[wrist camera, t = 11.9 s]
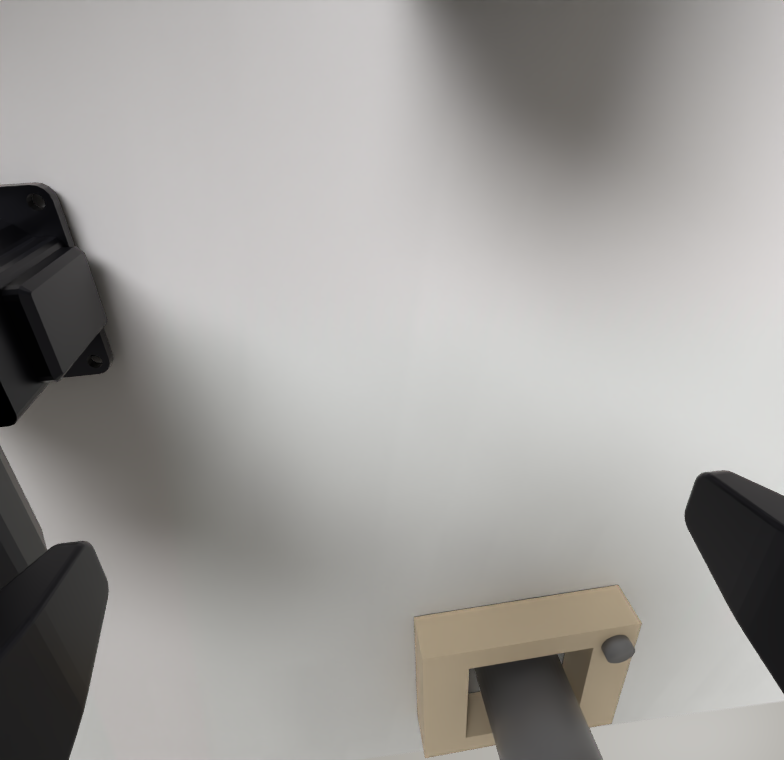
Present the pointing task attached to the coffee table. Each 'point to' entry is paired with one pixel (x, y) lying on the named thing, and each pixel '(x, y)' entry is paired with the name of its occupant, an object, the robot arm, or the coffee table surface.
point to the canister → (535, 711)
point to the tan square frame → (520, 658)
